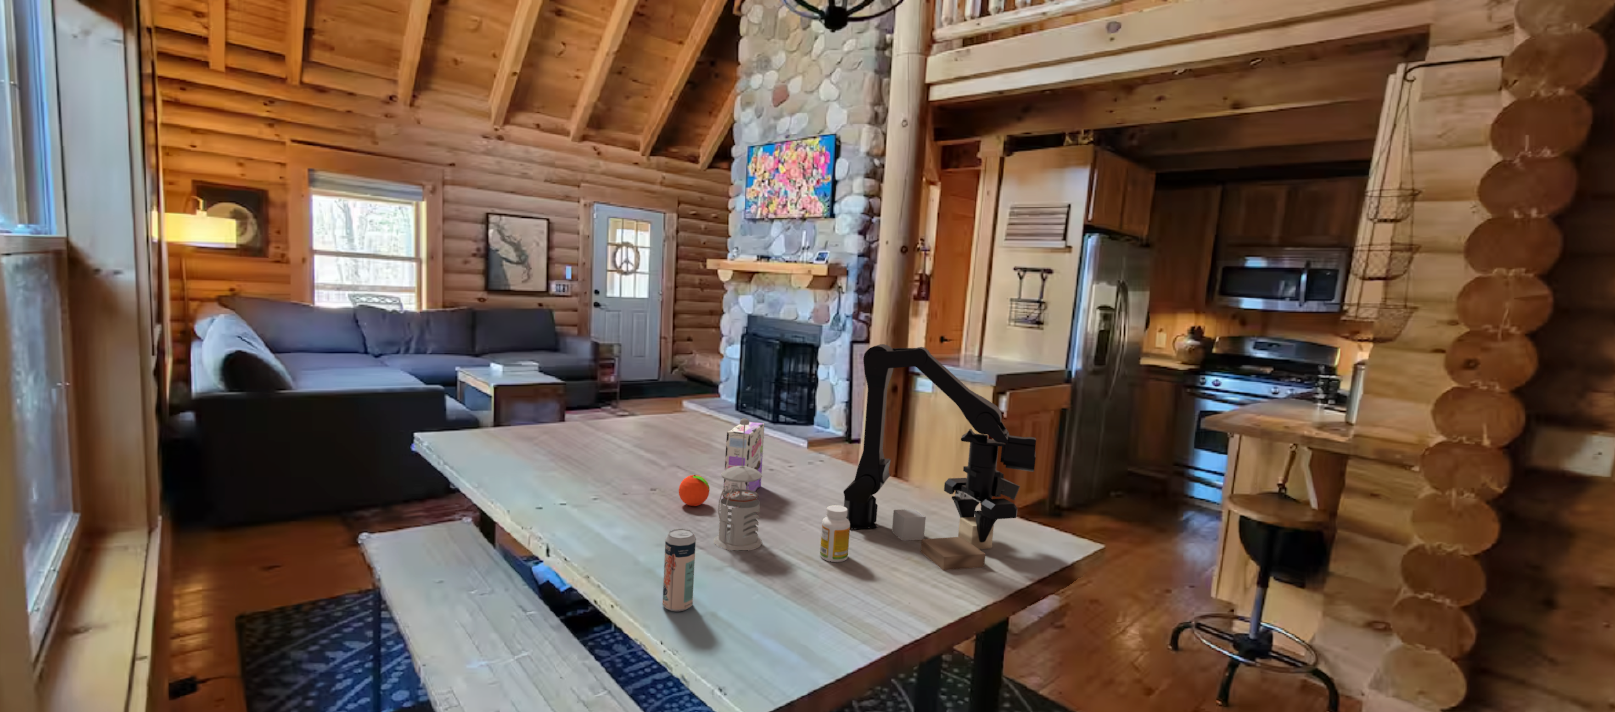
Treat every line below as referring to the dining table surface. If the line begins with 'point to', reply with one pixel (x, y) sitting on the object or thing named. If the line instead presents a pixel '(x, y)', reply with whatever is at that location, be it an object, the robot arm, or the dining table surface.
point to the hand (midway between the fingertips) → (975, 537)
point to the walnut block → (952, 553)
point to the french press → (739, 509)
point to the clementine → (694, 490)
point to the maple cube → (973, 533)
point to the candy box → (745, 452)
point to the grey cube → (908, 524)
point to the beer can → (679, 570)
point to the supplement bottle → (835, 534)
